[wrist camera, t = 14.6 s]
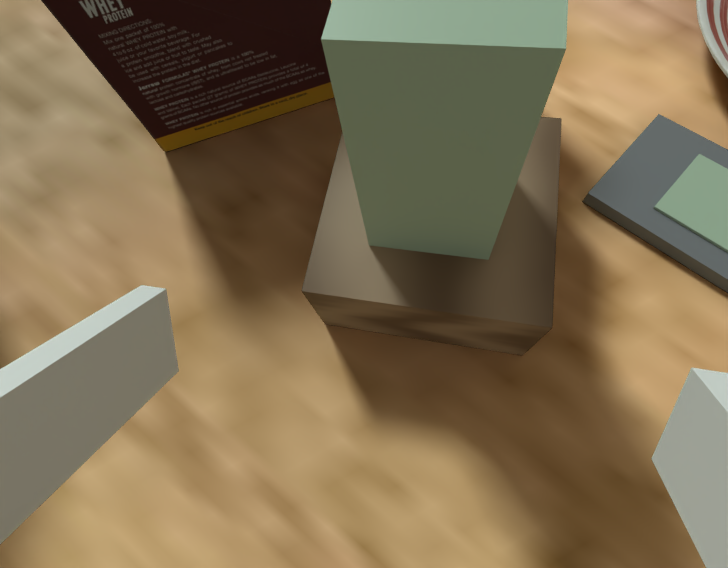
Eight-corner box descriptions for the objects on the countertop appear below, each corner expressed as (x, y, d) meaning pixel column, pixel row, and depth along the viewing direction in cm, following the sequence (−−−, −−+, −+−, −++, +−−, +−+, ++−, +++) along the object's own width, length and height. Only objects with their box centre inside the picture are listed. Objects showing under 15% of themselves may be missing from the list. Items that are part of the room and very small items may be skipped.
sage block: (369, 245, 22) (321, 39, 11) (388, 149, 24) (364, -105, 13) (488, 259, 21) (565, 48, 10) (498, 158, 23) (572, -109, 12)
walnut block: (324, 324, 27) (301, 291, 22) (361, 166, 31) (349, 104, 26) (522, 355, 25) (552, 327, 20) (534, 181, 29) (561, 118, 24)
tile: (582, 201, 28) (589, 191, 27) (651, 124, 30) (660, 111, 29) (770, 319, 24) (786, 312, 23) (838, 223, 26) (857, 213, 25)
